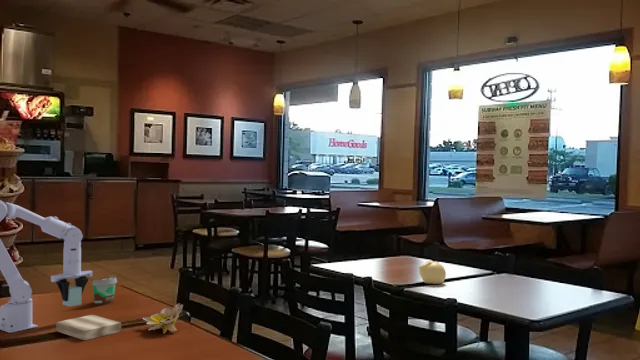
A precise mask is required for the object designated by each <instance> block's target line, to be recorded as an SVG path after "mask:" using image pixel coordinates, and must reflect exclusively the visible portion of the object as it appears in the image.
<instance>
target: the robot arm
mask: <svg viewBox="0 0 640 360" xmlns="http://www.w3.org/2000/svg"><path fill="white" fill-rule="evenodd" d="M5 217H7V218H20V219H22V220H24V221H27V222H29V223H31V224H35V225H36V226H39V227H40V229H41V232H43V233H46V234H48V235H50V236H53V237H55V238H57V239H59V240H60V239H63V252H62V253H63V259H62V263H63V265H62V268H63V269H62V270H63V273H58V274H54V275H50V282H52V283H55V284H56V285H57V287H58V289H59V291H60V294H61V297H62V302H63V301H68V289H69V286H70V284H71V283H70V281H68V280H74V283H75V286H78V287H82V294H83V293H84V290H85V287H86V285H87V283H89V277H93V273H94V271H93V270H82V247H81V246H82V240H83V237H84V235H83V233H82V231H81V229H80V228H78V227H77V226H75V225H72V223H71V222H65V221H63V220H60V219H59V217H57V216H56V215H54V216H51V215H50V216H47V217H43V216H41V215H39V214H37V213H35V212H33V211H31V210H29V209H27V208H24V207H22V206H20V205H17V204H14V203H11V202H6V201H5V202H4V201H3V200H1V199H0V223H1V221H2V220H3V219H5ZM0 273H1V275H3V277H4V279H5V281H6V283H7V285H8V287H9V288H8V290H9V291H8V292H9V293H10V298H9V299H8V301H7V303H4V304H2V305H0V330H1V331H4V332H6V333H16V332H20V331H26V330H29V329H34V328H38V327H39V326H38V325H37V324H35V323H33V298H31V297H32V296H33V290H32V287H31V285H30V284H29V282H28V281H27V280H25V279H23V277H22V275H21V274H20V272H19V270H18V269H17V266H16V265H15V263H14V261H13V260H12V257H11V256H10V254H9V252H8V250H7V249H6V247H5V244H4V243H3V241H2V239H1V238H0Z"/></svg>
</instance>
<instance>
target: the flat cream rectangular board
mask: <svg viewBox="0 0 640 360" xmlns="http://www.w3.org/2000/svg"><path fill="white" fill-rule="evenodd" d="M55 326H56V329H55V330H56V332H58V333H62V334H64V335H67V336H69V337H73V338H76V339H79V340H83V341H88V340H93V339H98V338H100V337H104V336H105V337H106V336H109V335H113V334H116V333H121V332H122V322H121V321H116V320H114V319H109V318H106V317H102V316H99V315H95V314H89V315H84V316H81V317H80V316H79V317H75V318H69V319H65V320H60V321H56V324H55Z"/></svg>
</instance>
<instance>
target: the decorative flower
mask: <svg viewBox="0 0 640 360" xmlns="http://www.w3.org/2000/svg"><path fill="white" fill-rule="evenodd" d="M183 308H184V304H181V303H179V302H178V303H177V304H175V305H174V307H173V308H172V309H171V308H167V307H165V308H162V310H161V311H160V312H157V313H155V314H152V315H151V316H149V317H142V319H143V320H144V321H146V323H145V324H146V325H149V326H150V327H149V328H148V331H152V330H153V331H155V330H159V329H162V333H163V334H166V332H167V331H169V332H176V331H177V330H178V329H177V328H176V326H175V324H176V322H177V320H178V318H180V313H181V312H182V310H183Z"/></svg>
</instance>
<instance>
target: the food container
mask: <svg viewBox="0 0 640 360" xmlns="http://www.w3.org/2000/svg"><path fill="white" fill-rule="evenodd" d="M117 283H118V279H117V277H116V275H112V274H110V275H108V277H106V278H100V279H95V280H94V279H93V280H92V284H91V286H92V288H93V304H94V306H103V305H104V304H106V305H111V304H113V303H114V302H115V293H116V292H115V291H116V284H117ZM110 303H111V304H110Z"/></svg>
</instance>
